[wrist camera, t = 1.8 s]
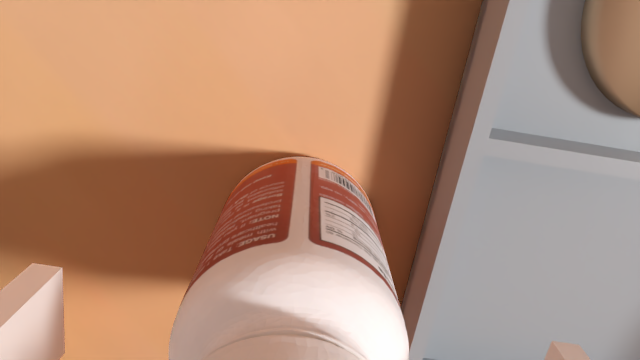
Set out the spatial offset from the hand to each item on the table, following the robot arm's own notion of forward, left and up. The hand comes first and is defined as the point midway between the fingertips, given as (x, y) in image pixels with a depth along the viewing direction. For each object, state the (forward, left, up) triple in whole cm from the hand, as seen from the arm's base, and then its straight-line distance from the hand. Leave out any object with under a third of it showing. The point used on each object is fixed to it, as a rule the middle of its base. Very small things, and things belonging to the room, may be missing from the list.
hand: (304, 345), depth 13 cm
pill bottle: (0, 0, -7) cm, 7 cm away
